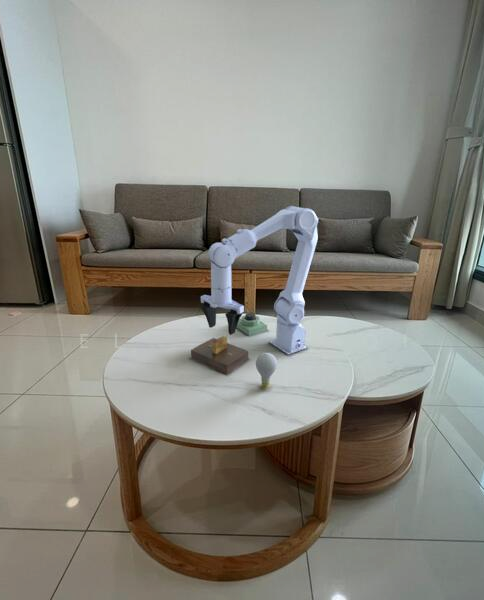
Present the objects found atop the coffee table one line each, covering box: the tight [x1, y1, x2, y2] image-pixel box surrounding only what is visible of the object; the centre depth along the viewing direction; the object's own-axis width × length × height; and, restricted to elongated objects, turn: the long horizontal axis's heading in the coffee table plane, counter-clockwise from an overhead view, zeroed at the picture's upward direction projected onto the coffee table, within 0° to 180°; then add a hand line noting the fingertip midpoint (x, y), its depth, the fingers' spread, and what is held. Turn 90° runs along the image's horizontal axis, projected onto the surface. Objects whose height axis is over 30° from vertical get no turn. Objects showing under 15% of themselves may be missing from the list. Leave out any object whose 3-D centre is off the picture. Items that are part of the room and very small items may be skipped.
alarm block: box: [236, 314, 268, 337], centre depth 117 cm, size 10×8×4 cm
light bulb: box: [255, 352, 278, 389], centre depth 83 cm, size 6×6×10 cm
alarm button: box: [245, 312, 256, 321], centre depth 116 cm, size 4×4×2 cm
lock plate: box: [190, 337, 249, 375], centre depth 97 cm, size 14×10×3 cm
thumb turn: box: [212, 335, 228, 354], centre depth 95 cm, size 5×2×4 cm, turn 145°
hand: (222, 329), depth 95 cm, fingers open, 7 cm apart
